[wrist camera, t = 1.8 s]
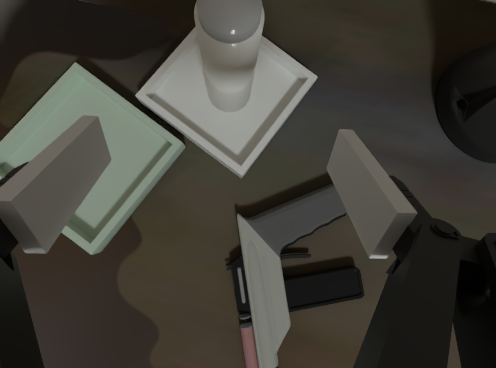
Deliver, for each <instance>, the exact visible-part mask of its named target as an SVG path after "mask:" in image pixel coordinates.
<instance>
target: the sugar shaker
mask: <svg viewBox="0 0 496 368" xmlns="http://www.w3.org/2000/svg"><path fill="white" fill-rule="evenodd" d="M194 19H195V25H196V30H197V36H198V42H199V47H200V53H201V58H202V64H203V70H204V75H205V81H206V87H207V92H208V97H209V100H210V102H211V103H212V104H213V105H214V106H215V107H216V108H217V109H219V110H221V111H224V112H236V111H239V110H241V109H242V108H243V107H245V106H246V105H247V103H248V101H249V99H250V95H251V90H252V84H253V79H254V74H255V68H256V63H257V57H258V52H259V46H260V41H261V36H262V30H263V25H264V10H263V6H262V0H197V1H196V4H195V8H194Z"/></svg>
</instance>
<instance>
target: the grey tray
mask: <svg viewBox="0 0 496 368" xmlns="http://www.w3.org/2000/svg"><path fill="white" fill-rule="evenodd" d="M316 79H317V76H316V75H314V74H313V73H312V72H310V71H309V70H308V69H306V68H305V67H304V66H302V65H301V64H300V63H298V62H297V61H296V60H294V59H293V58H292V57H290V56H289V55H288V54H286V53H285V52H284V51H282V50H281V49H280V48H278V47H277V46H276V45H274V44H273V43H272V42H270V41H269V40H267V39H266V38H265V37H263V36H261V41H260V46H259V52H258V57H257V63H256V68H255V74H254V79H253V84H252V90H251V95H250V99H249V101H248V103H247V105H246V106H245V107H243V108H242V109H241V110H239V111H236V112H224V111H221V110H219V109H217V108H216V107H215V106H214V105H213V104H212V103H211V102H210V100H209V97H208V92H207V87H206V81H205V75H204V70H203V64H202V58H201V53H200V47H199V42H198V36H197V30H196V27H195V28H194V29H193V30H192V31H191V32H190V33H189V35H188V36H187V37H186V38H185V39H184V40H183V41H182V43H181V44H180V45H179V46H178V47H177V48H176V49H175V51H174V52H173V53H172V54H171V55H170V56H169V57H168V59H167V60H166V61H165V62H164V63H163V64H162V65H161V67H160V68H159V69H158V70H157V71H156V72H155V73H154V75H153V76H152V77H151V78H150V79H149V80H148V81H147V83H146V84H145V85H144V86H143V87H142V88H141V89H140V90H139V92H138V93H137V94H136V95H135V96H136V98H137V99H138V100H139V101H140V102H141V104H143V105H144V106H145V107H147V108H148V109H149V110H151V111H152V112H153V113H155V114H156V115H157V116H159V117H160V118H161V119H163V120H164V121H165V122H167V123H168V124H169V125H171V126H172V127H173V128H175V129H176V130H177V131H179V132H180V133H181V134H183V135H184V136H185V137H187V138H188V139H189V140H191V141H192V142H193V143H195V144H196V145H197V146H199V147H200V148H201V149H203V150H204V151H205V152H207V153H208V154H209V155H211V156H212V157H213V158H215V159H216V160H217V161H219V162H220V163H221V164H223V165H224V166H225V167H227V168H228V169H229V170H231V171H232V172H233V173H235V174H236V175H237V176H239V177H240V178H241V179H242V177H243V176H244V175H245V173H246V172H247V171H248V169H249V168H250V167H251V165H252V164H253V163H254V161H255V160H256V159H257V157H258V156H259V155H260V154H261V152H262V151H263V150H264V148H265V147H266V146H267V144H268V143H269V142H270V140H271V139H272V138H273V136H274V135H275V134H276V132H277V131H278V130H279V128H280V127H281V126H282V125H283V123H284V122H285V121H286V119H287V118H288V117H289V115H290V114H291V113H292V111H293V110H294V109H295V107H296V106H297V105H298V103H299V102H300V101H301V99H302V98H303V97H304V95H305V94H306V93H307V92H308V90H309V89H310V88H311V86H312V85H313V83H314V82H315V80H316Z"/></svg>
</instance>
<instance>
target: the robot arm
mask: <svg viewBox="0 0 496 368" xmlns="http://www.w3.org/2000/svg"><path fill="white" fill-rule="evenodd" d="M436 106H437V113H438V117H439V120H440V123H441V125H442V127H443V129H444V131H445V133H446V134H447V136H448V137H449V138H450V140H451V141H452V142H453V143H454V144H455V145H456V146H457V147H458V148H459V149H460V150H462V151H463V152H464V153H466V154H467V155H469V156H471V157H473V158H475V159H477V160H480V161H484V162H488V163H496V42H493V43H490V44H487V45H484V46H481V47H479V48H476V49H474V50H472V51H471V52H469V53H468V54H466V55H465V56H463V57H462V58H460V59H458V60H457V61H456V62H454V63H453V64H452V65H451V66H450V67H449V68H448V69H447V70H446V71H445V73H444V74H443V76H442V78H441V80H440V82H439V85H438V89H437V95H436ZM111 160H112V159H111V156H110V153H109V149H108V146H107V143H106V140H105V137H104V133H103V130H102V127H101V124H100V120H99V117H98V116H87V115H83V116H82V117H81V118H79V119H78V120H77V121H76V122H75V123H74V124H72V125H71V126H70V127H69V128H68V129H67V130H66V131H64V132H63V133H62V134H61V135H60V136H59V137H58V138H56V139H55V140H54V141H53V142H52V143H51V144H49V145H48V146H47V147H46V148H45V149H44V150H43V151H41V152H40V153H39V154H38V155H37V156H36V157H35V158H33V159H32V160H31V161H30V162H26V163H24V164H22V165H20V166H18V167H16V168H14V169H13V170H11V171H10V172H9V173H8V174H7V175H5V178H2V179H1V180H0V368H44V365H43V361H42V358H41V353H40V349H39V345H38V341H37V338H36V334H35V330H34V326H33V322H32V318H31V314H30V310H29V306H28V303H27V299H26V295H25V291H24V287H23V284H22V279H21V275H20V271H19V268H18V264H17V260H16V257H15V255H14V254H13V253H12V252H11V251H12V250H13V249H14V247H15V246H16V245H17V244H19V245H20V246H21V247H22V249H23V250H24V252H25V253H47V251H48V250H49V249H50V247H51V246H52V245H53V243H54V242H55V240H56V239H57V237H58V236H59V235H60V233H61V232H62V230H63V229H64V227H65V226H66V225H67V223H68V222H69V220H70V219H71V217H72V216H73V215H74V213H75V212H76V210H77V209H78V207H79V206H80V205H81V203H82V202H83V200H84V199H85V197H86V196H87V195H88V193H89V192H90V190H91V189H92V187H93V186H94V185H95V183H96V182H97V180H98V179H99V177H100V176H101V175H102V173H103V172H104V170H105V169H106V167H107V166H108V165H109V163H110V162H111ZM327 171H328V173H329V175H330V177H331V179H332V182H333V184H334V186H335V188H336V190H337V192H338V194H339V196H340V198H341V200H342V202H343V204H344V207H345V209H346V211H347V213H348V215H349V217H350V219H351V221H352V223H353V225H354V227H355V230H356V232H357V234H358V236H359V238H360V240H361V242H362V244H363V246H364V248H365V250H366V252H367V255H368V257H369V258H387V257H388V255H389V254H390V252H391V251H392V250H393V251H394V253H395V254H396V256H397V258H396V259H395V261H394V262H393V264H392V265H391V266H390V268H389V269H388V270H387V272H386V273H388V274H389V275H388V278H387V280H386V283H385V286H384V288H383V291H382V294H381V296H380V299H379V301H378V304H377V307H376V309H375V312H374V315H373V317H372V320H371V322H370V325H369V328H368V330H367V333H366V336H365V338H364V341H363V343H362V346H361V349H360V351H359V354H358V357H357V359H356V362H355V364H354V367H353V368H447V363H448V355H449V347H450V339H451V331H452V322H453V325H454V330H455V335H456V341H457V346H458V351H459V356H460V362H461V367H462V368H496V233H488V234H486V235H485V236H484V237H483V238H482V239H481V240H480V241H479V240H476V239H472V238H468V237H464V236H462V235H461V234H460V233H459V231H458V230H457V229H456V228H454V227H453V226H452V225H450V224H449V223H447V222H445V221H442V220H440V219H436V218H432V217H431V216H430V215H429V214H428V212H427V211H426V210H425V209H424V208H423V206H422V205H421V204H420V203H419V202H418V200H417V199H416V198H414V195H413V194H412V193H411V192H410V191H409V189H408V188H407V187H406V186H405V185H404V183H403V182H401V181H400V180H398V179H397V178H396V177H394V176H388V175H387V173H386V172H385V171H384V169H383V168H382V167H381V166H380V164H379V163H378V162H377V161H376V159H375V158H374V157H373V155H372V154H371V153H370V152H369V150H368V149H367V148H366V146H365V145H364V144H363V143H362V141H361V140H360V139H359V137H358V136H357V135H356V134H355V132H354V131H353V130H347V129H339V132H338V135H337V138H336V141H335V144H334V147H333V150H332V153H331V157H330V160H329V163H328V166H327Z"/></svg>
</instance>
